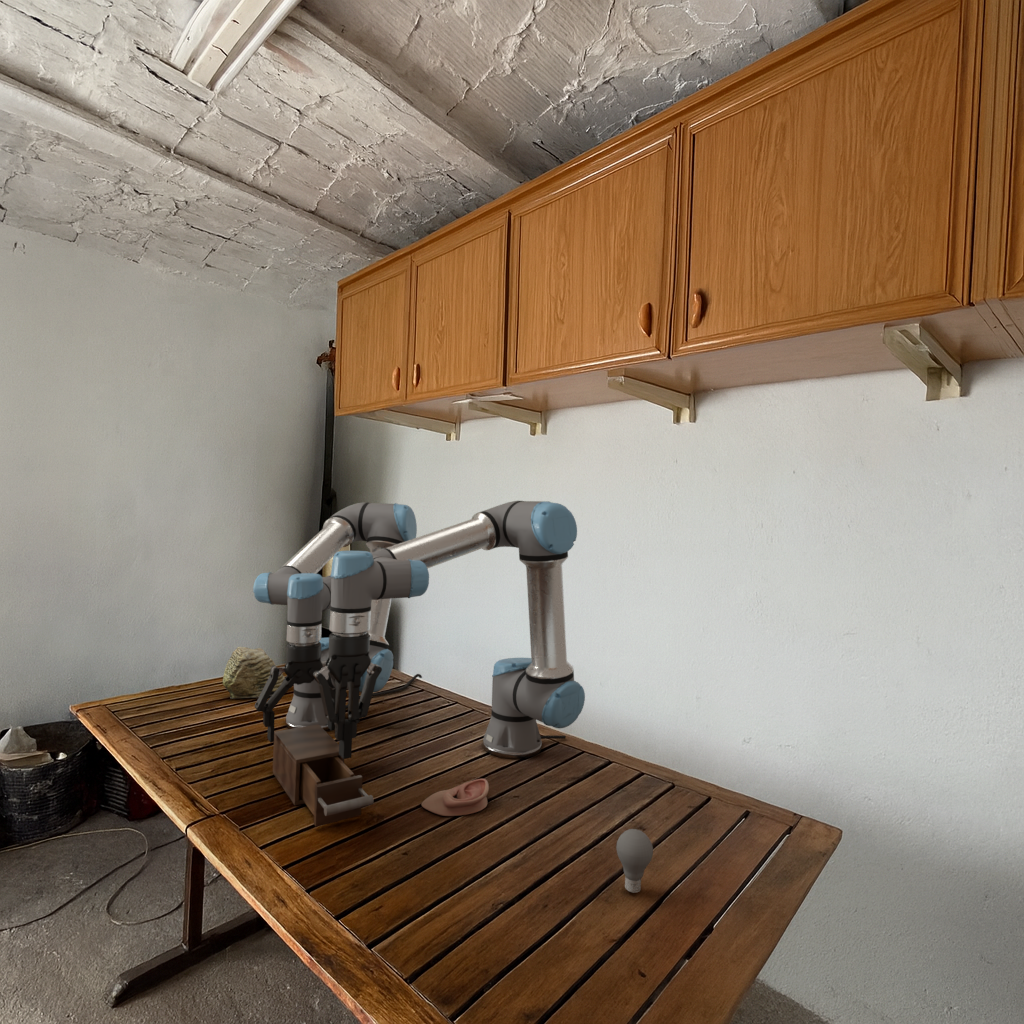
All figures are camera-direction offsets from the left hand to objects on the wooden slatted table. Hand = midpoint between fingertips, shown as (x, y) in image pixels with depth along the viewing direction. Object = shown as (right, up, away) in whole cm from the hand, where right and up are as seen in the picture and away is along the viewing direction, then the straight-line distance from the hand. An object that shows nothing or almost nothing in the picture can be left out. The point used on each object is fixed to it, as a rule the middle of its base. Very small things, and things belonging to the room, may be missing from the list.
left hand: (301, 734), depth 145 cm
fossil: (-33, -6, +53) cm, 63 cm away
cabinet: (+3, -9, -5) cm, 11 cm away
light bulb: (+68, -13, -39) cm, 80 cm away
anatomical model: (+36, -11, -12) cm, 39 cm away
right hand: (+16, +4, -24) cm, 29 cm away
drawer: (+12, -9, -18) cm, 23 cm away
